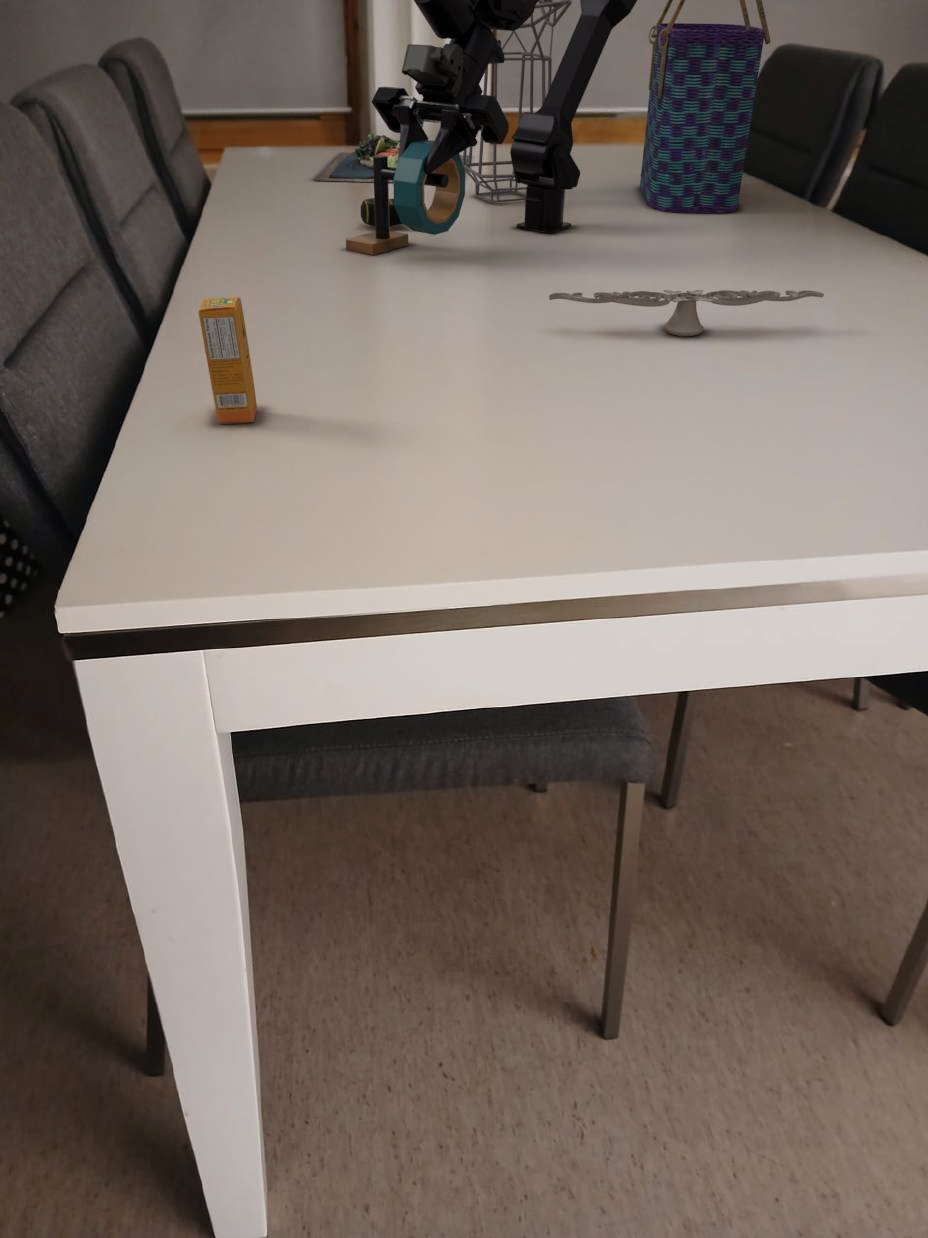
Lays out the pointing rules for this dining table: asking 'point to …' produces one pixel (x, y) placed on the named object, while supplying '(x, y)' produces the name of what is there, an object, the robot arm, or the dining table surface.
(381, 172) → the hook
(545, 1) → the geometric lantern
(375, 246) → the hook base
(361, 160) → the plated dish
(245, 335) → the supplement box
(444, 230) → the tape roll
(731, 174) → the basket
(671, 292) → the wall hook
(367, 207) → the tape measure
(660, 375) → the dining table surface
